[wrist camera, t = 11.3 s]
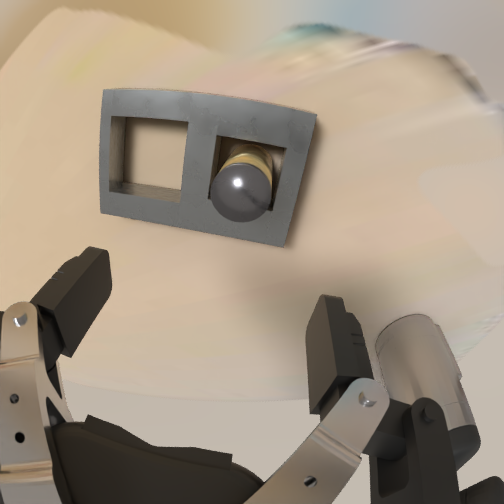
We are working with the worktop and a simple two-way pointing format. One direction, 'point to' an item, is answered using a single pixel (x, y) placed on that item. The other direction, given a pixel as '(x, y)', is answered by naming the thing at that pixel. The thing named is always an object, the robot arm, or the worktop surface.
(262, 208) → the gold and grey cylinder
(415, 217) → the worktop surface
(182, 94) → the grey fitting block
